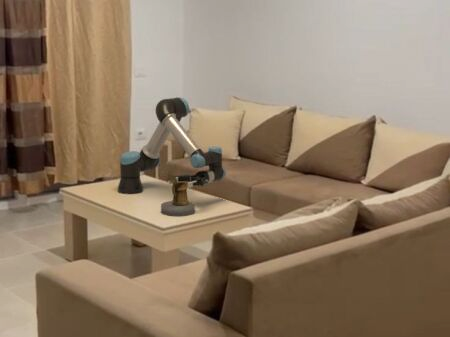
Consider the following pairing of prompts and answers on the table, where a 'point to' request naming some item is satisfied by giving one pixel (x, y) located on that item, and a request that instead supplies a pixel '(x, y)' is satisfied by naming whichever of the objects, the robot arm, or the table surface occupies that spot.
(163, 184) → the table surface
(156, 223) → the table surface
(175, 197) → the wooden mug
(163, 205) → the charcoal plinth
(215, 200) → the table surface
